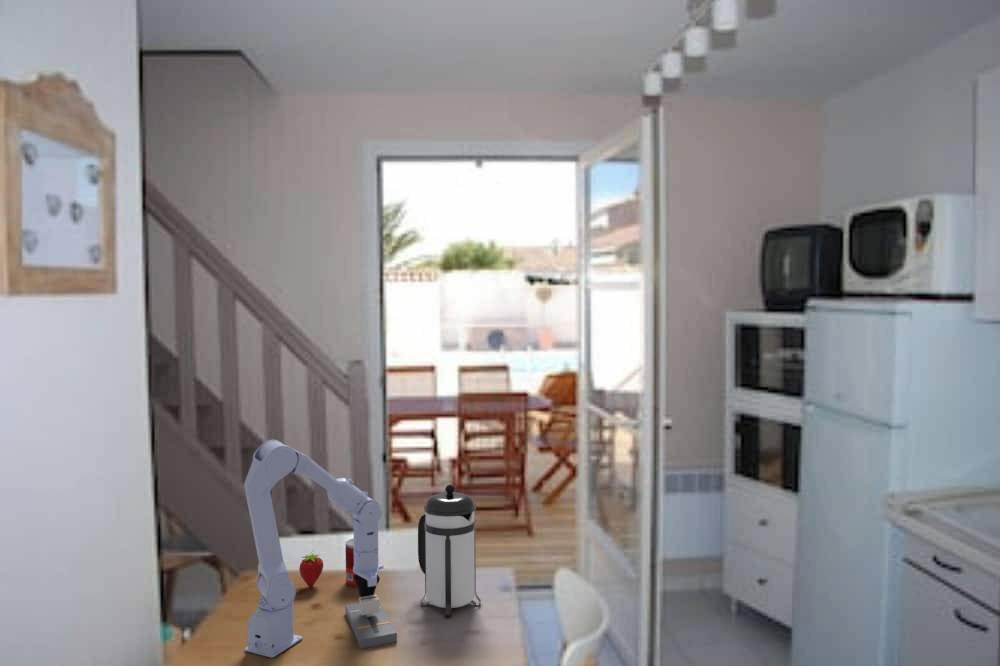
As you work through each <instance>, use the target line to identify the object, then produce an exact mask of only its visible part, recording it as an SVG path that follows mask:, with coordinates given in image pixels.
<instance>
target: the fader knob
mask: <svg viewBox="0 0 1000 666" xmlns="http://www.w3.org/2000/svg"><path fill="white" fill-rule="evenodd" d="M379 601H380V599H379V597H378V595H377V594H374V595H370V596H364V597H360V596H359V598H358V603H359V610H360V613H361V615H366V616H367V617H370V616H372V613H378V612H379Z"/></svg>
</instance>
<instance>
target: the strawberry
mask: <svg viewBox="0 0 1000 666" xmlns="http://www.w3.org/2000/svg"><path fill="white" fill-rule="evenodd" d="M313 552H314V550H312V551H311V553H309V555H307V554H306V555H305V556H301V558H303V559H302V560H301V562H300V565H299V573H300V577H301V578H302V580H303V581H304V582H305V584H306V585H307V587H309V588H312V587H314V585H315V583H316V582H317V581H318V580H319V577H320V575H322V572H323V569H324V560H323V559H322V558H321V557H318V556H320V554H314V553H313Z"/></svg>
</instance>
